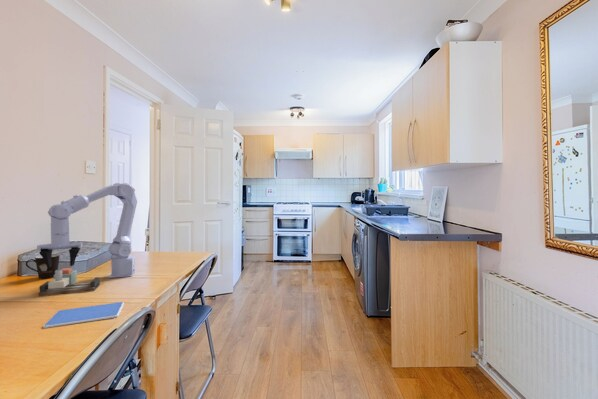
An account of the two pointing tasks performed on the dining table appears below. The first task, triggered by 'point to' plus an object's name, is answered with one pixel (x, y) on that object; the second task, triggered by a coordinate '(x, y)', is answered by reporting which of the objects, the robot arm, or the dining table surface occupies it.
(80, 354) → the dining table surface
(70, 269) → the plunger
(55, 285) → the carriage
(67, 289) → the dark gray tray
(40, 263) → the coffee mug
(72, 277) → the gauge cabinet
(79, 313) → the tablet computer
